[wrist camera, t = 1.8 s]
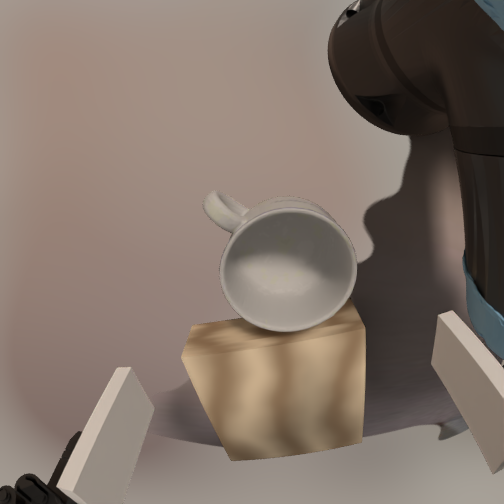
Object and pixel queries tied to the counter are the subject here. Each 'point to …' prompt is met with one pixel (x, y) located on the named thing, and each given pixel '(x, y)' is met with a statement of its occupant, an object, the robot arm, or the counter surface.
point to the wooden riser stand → (281, 384)
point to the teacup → (283, 261)
